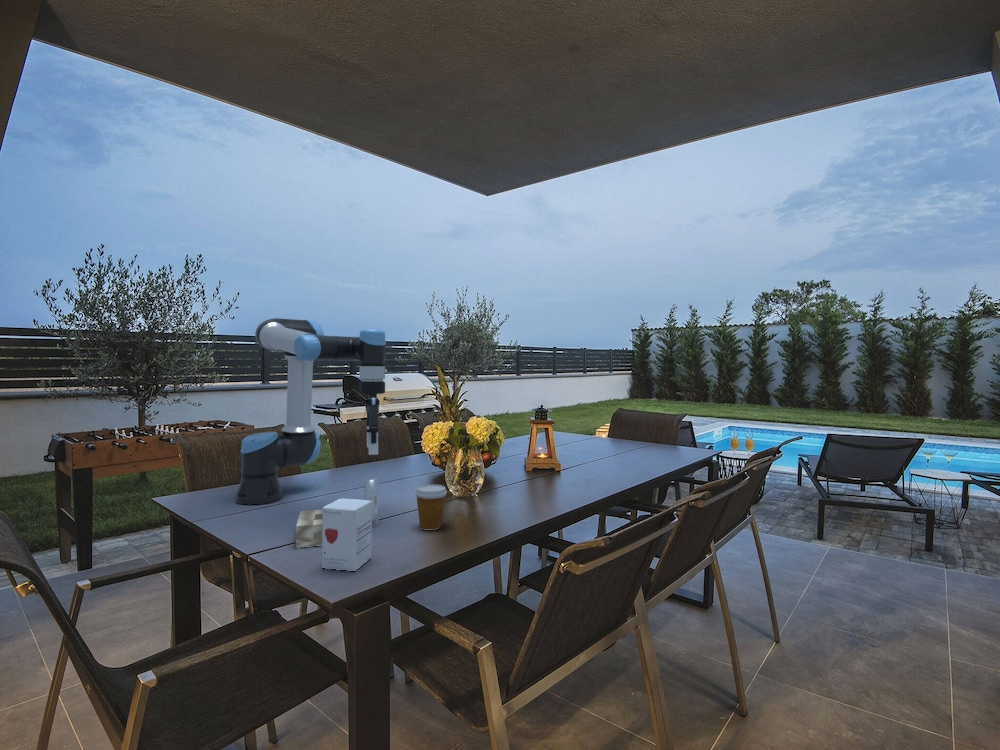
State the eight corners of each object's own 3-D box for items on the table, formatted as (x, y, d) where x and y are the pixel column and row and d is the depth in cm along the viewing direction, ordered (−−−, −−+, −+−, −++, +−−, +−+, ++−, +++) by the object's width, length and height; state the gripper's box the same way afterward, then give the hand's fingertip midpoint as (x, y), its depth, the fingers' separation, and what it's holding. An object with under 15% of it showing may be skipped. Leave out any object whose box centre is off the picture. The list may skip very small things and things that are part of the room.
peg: (364, 527, 152) (365, 481, 151) (364, 523, 156) (364, 478, 155) (378, 526, 153) (378, 480, 153) (377, 522, 157) (378, 477, 156)
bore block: (295, 548, 134) (296, 526, 134) (300, 531, 148) (300, 511, 147) (351, 543, 138) (351, 521, 138) (350, 527, 152) (350, 507, 151)
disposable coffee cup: (432, 535, 146) (433, 493, 146) (408, 529, 151) (408, 488, 151) (453, 526, 154) (453, 486, 154) (428, 520, 159) (429, 482, 159)
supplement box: (320, 569, 121) (320, 507, 121) (339, 555, 130) (339, 497, 129) (355, 573, 119) (355, 509, 119) (372, 558, 128) (373, 499, 128)
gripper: (388, 382, 143) (388, 457, 143) (382, 379, 166) (382, 443, 167) (360, 382, 140) (360, 458, 141) (358, 379, 164) (358, 444, 165)
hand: (372, 450), depth 154 cm, fingers open, 13 cm apart
